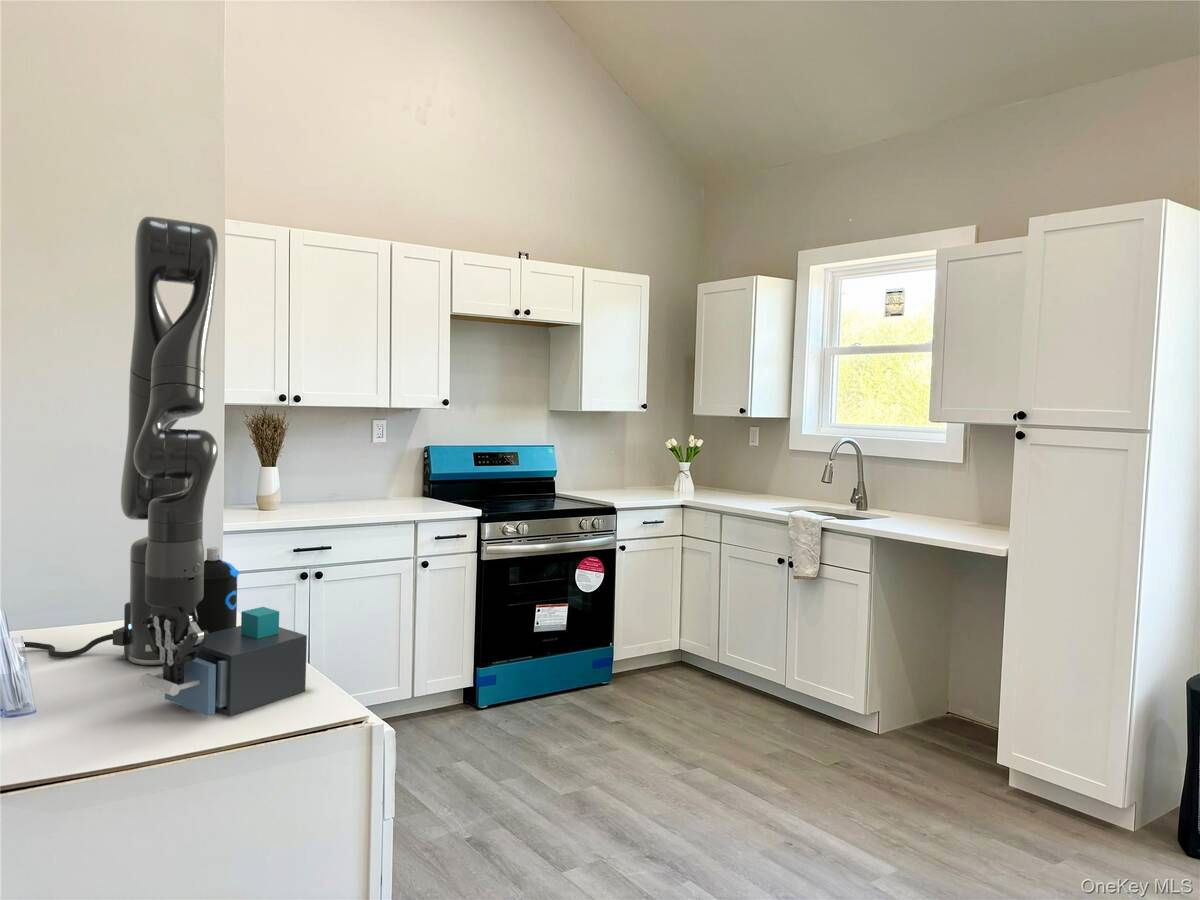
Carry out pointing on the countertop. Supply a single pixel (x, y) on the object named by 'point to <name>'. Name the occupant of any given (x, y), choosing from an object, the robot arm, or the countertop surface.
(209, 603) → the aerosol can
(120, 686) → the countertop surface
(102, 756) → the countertop surface
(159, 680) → the blue drawer
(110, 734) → the countertop surface
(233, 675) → the dark grey drawer cabinet
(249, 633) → the teal cube
